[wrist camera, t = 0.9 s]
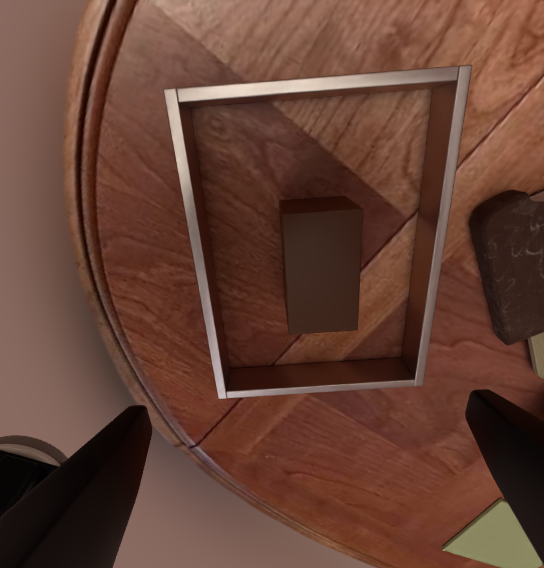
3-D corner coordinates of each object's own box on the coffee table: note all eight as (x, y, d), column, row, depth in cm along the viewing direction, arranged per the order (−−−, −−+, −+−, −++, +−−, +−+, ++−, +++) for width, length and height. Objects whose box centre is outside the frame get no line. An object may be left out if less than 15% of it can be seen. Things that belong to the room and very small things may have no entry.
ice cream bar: (576, 356, 24) (552, 169, 19) (596, 370, 23) (577, 171, 17) (505, 381, 25) (463, 209, 20) (520, 396, 24) (479, 215, 18)
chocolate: (343, 299, 22) (357, 330, 19) (285, 303, 22) (288, 335, 19) (345, 195, 19) (363, 208, 16) (279, 200, 19) (281, 214, 16)
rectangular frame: (408, 363, 24) (423, 386, 22) (222, 375, 25) (218, 399, 22) (445, 74, 17) (473, 64, 15) (176, 95, 17) (162, 88, 15)
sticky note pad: (525, 572, 37) (527, 575, 36) (441, 547, 34) (442, 550, 34) (587, 529, 34) (590, 532, 33) (499, 498, 31) (501, 501, 31)
